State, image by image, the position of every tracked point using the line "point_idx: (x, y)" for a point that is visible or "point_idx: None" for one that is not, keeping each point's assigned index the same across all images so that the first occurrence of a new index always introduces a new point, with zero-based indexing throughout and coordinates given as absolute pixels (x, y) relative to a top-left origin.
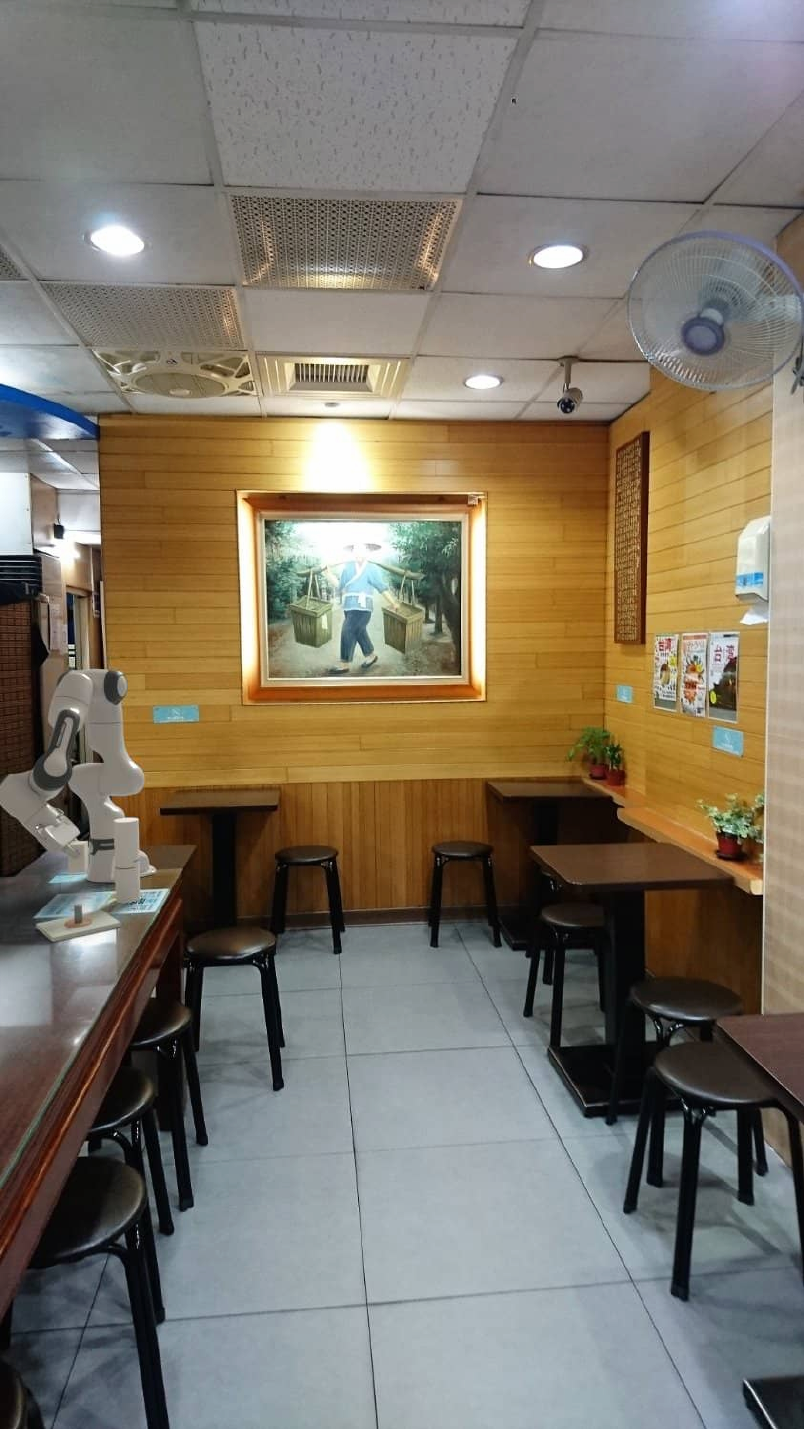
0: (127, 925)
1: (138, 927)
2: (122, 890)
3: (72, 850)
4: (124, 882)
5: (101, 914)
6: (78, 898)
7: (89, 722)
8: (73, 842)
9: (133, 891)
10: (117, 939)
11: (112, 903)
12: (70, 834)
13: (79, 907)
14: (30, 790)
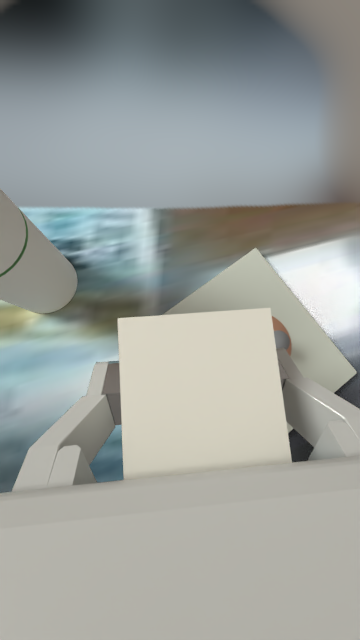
0: (243, 239)
1: (257, 214)
2: (61, 277)
3: (326, 392)
4: (52, 261)
5: (195, 307)
6: (3, 430)
7: None
8: (176, 451)
9: (58, 250)
10: (328, 240)
11: (69, 316)
12: (138, 562)
13: (285, 334)
14: None
